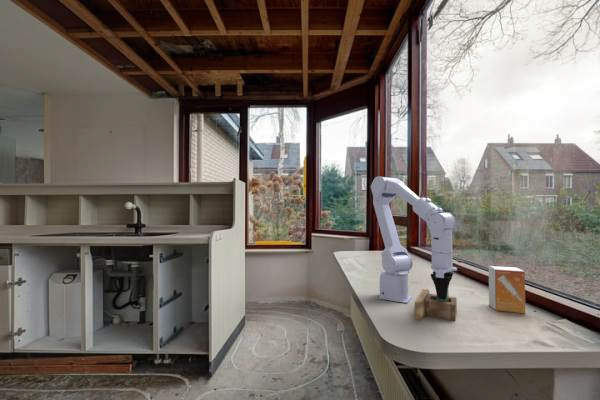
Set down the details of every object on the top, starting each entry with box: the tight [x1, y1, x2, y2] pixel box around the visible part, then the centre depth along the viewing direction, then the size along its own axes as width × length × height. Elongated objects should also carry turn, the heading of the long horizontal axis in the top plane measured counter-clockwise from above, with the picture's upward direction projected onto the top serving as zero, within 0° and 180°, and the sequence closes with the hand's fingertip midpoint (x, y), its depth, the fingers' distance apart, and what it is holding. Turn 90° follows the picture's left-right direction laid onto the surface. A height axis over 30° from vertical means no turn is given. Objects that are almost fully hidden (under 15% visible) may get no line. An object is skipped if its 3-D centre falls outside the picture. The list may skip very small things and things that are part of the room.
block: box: [424, 293, 458, 322], centre depth 86 cm, size 8×8×4 cm
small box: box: [488, 265, 526, 314], centre depth 91 cm, size 8×6×13 cm
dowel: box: [437, 289, 450, 302], centre depth 86 cm, size 3×3×7 cm
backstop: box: [414, 288, 430, 321], centre depth 88 cm, size 2×15×5 cm, turn 149°
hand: (442, 297), depth 86 cm, fingers closed on dowel, 3 cm apart
